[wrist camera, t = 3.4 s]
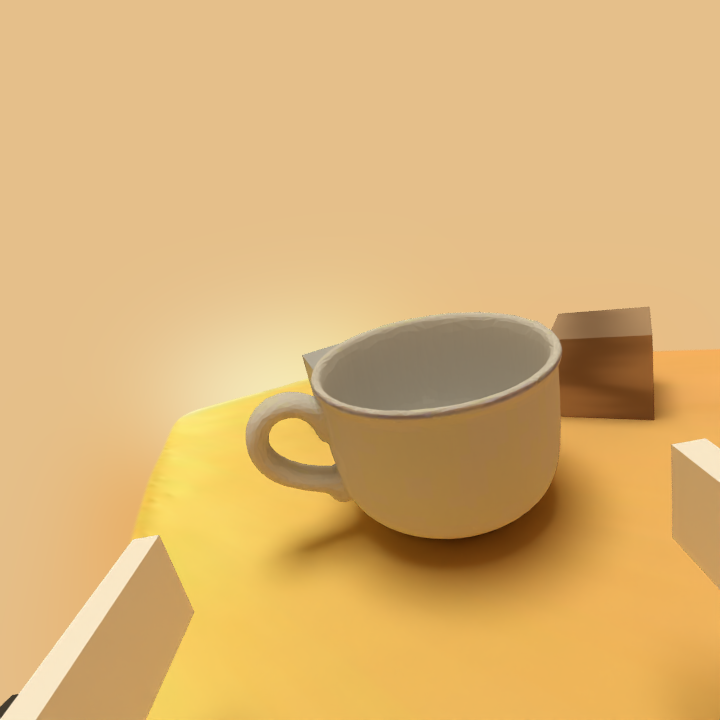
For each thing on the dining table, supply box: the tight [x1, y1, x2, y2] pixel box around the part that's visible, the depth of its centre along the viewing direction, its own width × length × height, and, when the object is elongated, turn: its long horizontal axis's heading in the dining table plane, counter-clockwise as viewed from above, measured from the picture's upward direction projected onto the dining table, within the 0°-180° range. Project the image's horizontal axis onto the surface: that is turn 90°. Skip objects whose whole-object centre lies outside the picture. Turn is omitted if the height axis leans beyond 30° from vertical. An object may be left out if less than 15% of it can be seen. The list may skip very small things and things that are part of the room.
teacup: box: [246, 312, 562, 539], centre depth 21 cm, size 14×11×8 cm
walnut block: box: [552, 307, 654, 420], centre depth 26 cm, size 5×5×5 cm
